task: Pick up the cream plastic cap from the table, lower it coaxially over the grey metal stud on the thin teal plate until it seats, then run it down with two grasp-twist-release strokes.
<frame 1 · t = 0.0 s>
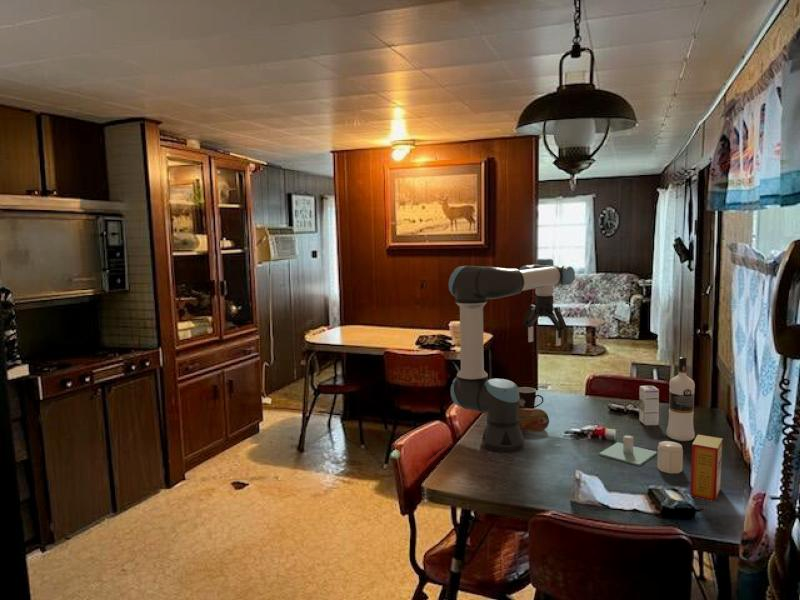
hand: (544, 343, 252), 28 cm above the table, tool pointing down, fingers open, 13 cm apart
vodka: (680, 437, 214), on the table
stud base: (628, 454, 200), on the table
tin: (529, 430, 227), on the table
cap: (669, 469, 187), on the table
syrup box: (648, 423, 230), on the table
coffee mug: (527, 414, 246), on the table
baking soda box: (705, 493, 170), on the table
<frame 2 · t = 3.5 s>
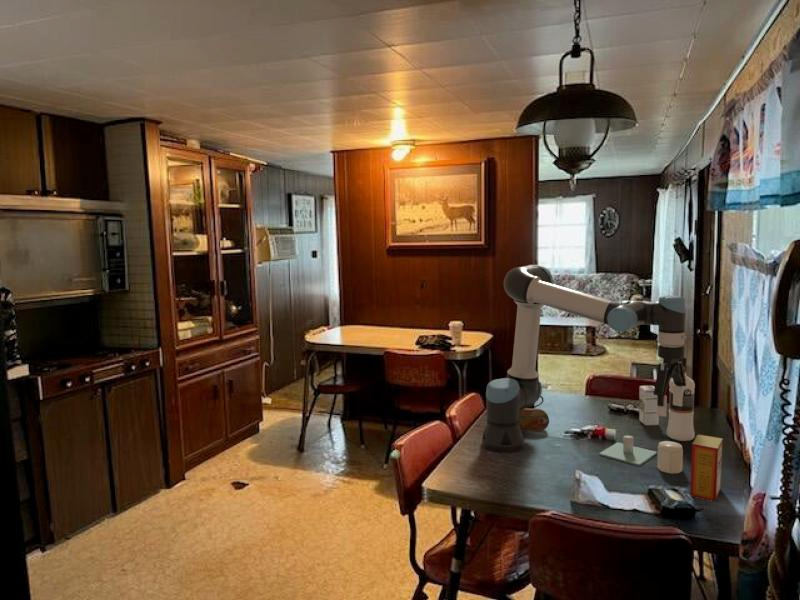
hand: (669, 410, 186), 19 cm above the table, tool pointing down, fingers open, 13 cm apart
nothing on the table moved.
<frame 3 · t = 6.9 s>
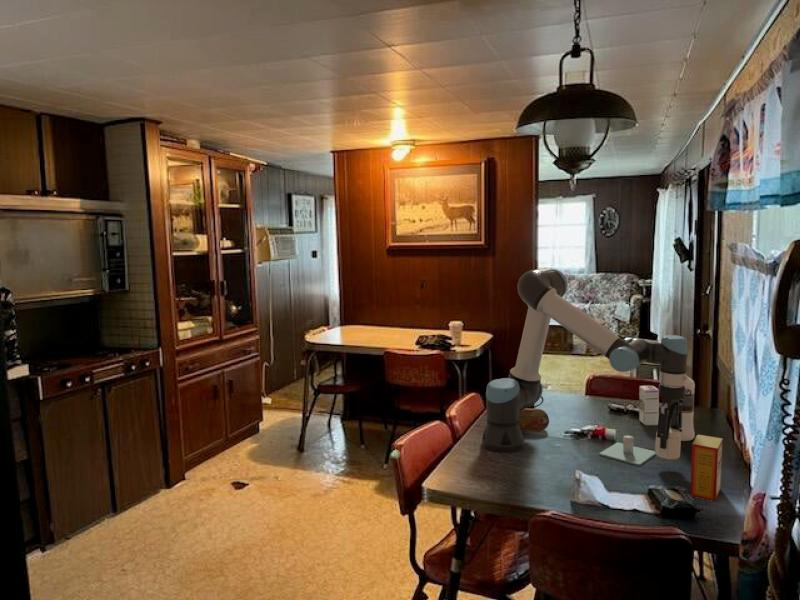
hand: (668, 454, 187), 5 cm above the table, tool pointing down, fingers closed on cap, 7 cm apart
cap: (667, 454, 187), point 5 cm above the table, touching gripper
everything else where it was.
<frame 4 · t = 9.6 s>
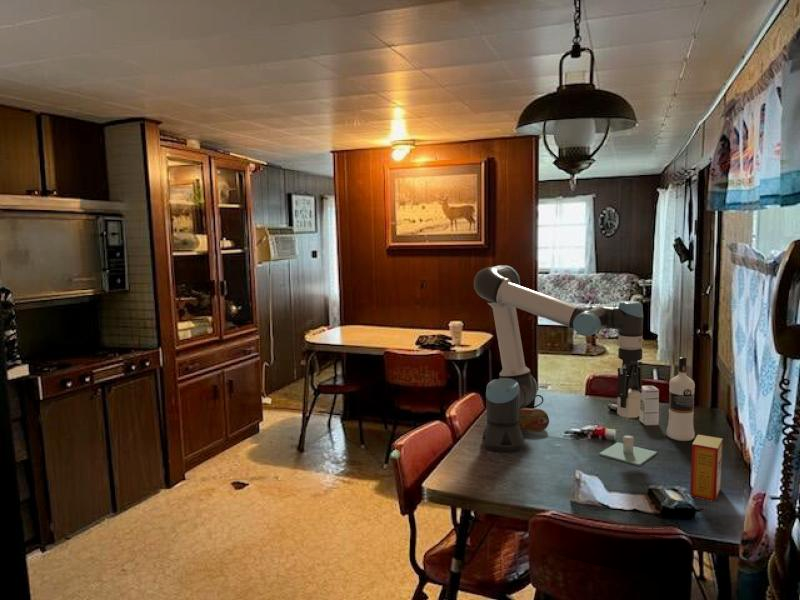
hand: (629, 413, 198), 14 cm above the table, tool pointing down, fingers closed on cap, 7 cm apart
cap: (628, 414, 198), point 14 cm above the table, touching gripper
everything else where it was.
when the fingers open (3 cm above the table, at t = 12.4 s): cap drops 2 cm, resting on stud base.
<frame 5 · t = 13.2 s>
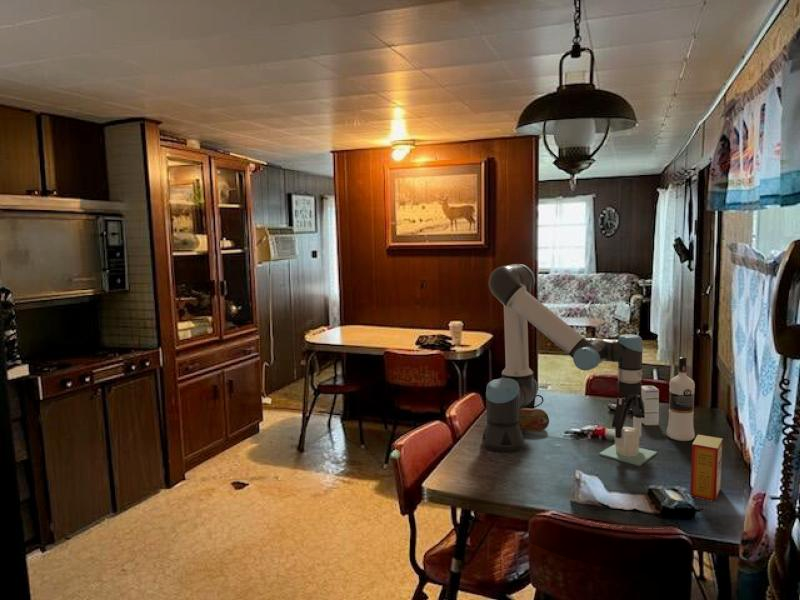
hand: (628, 441, 199), 5 cm above the table, tool pointing down, fingers open, 13 cm apart
cap: (627, 452, 200), point 1 cm above the table, touching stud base
everything else where it was.
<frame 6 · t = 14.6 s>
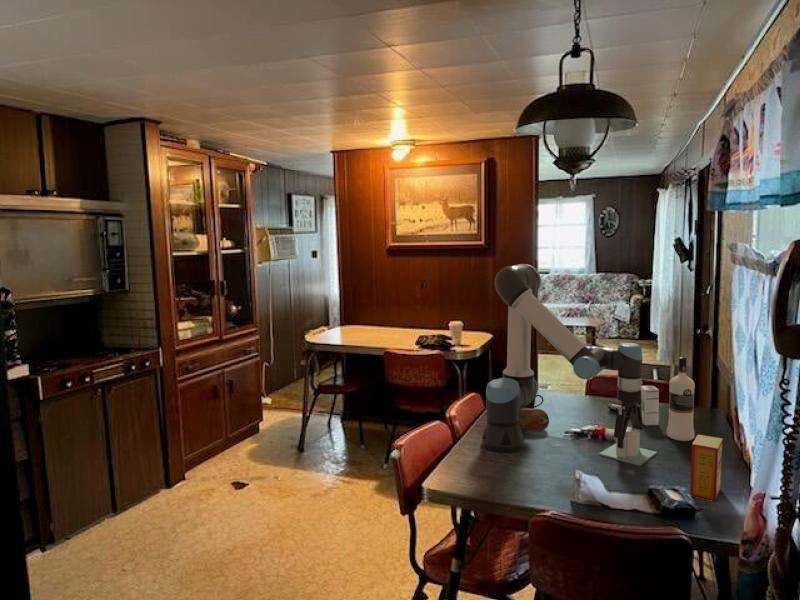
hand: (628, 452, 200), 1 cm above the table, tool pointing down, fingers closed on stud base, 10 cm apart
nothing on the table moved.
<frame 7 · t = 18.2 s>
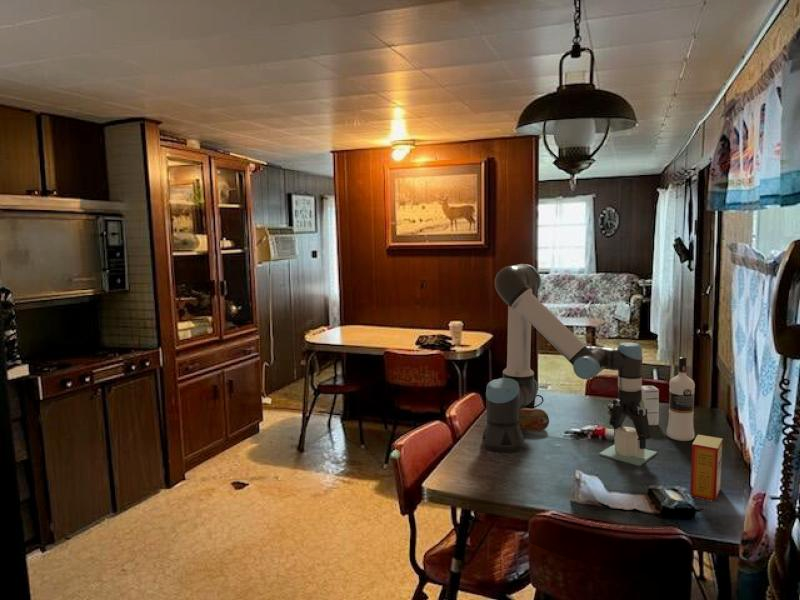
hand: (629, 451, 200), 1 cm above the table, tool pointing down, fingers open, 10 cm apart
nothing on the table moved.
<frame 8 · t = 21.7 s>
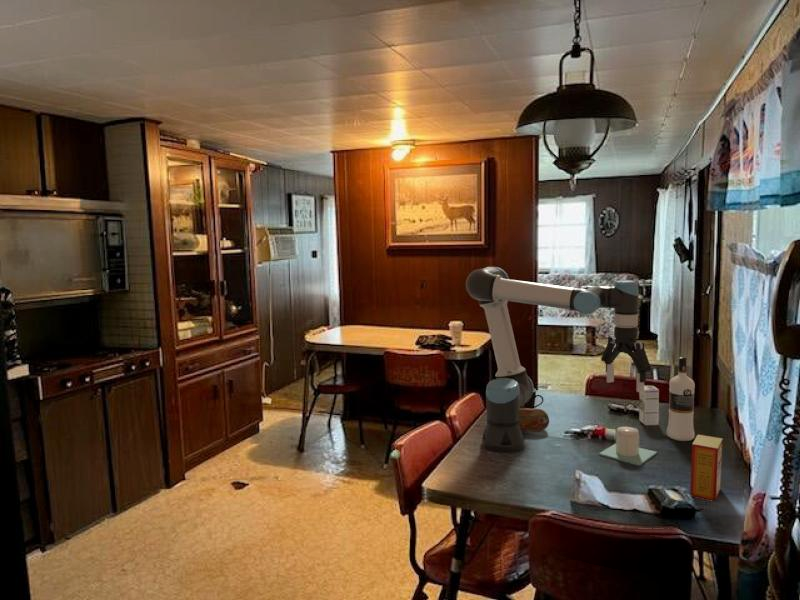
hand: (624, 386, 201), 23 cm above the table, tool pointing down, fingers open, 13 cm apart
nothing on the table moved.
at the end: cap 0.3 cm off-centre on the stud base, point 0.6 cm above the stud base's base; cap tilted 0°; the gripper is holding nothing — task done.
